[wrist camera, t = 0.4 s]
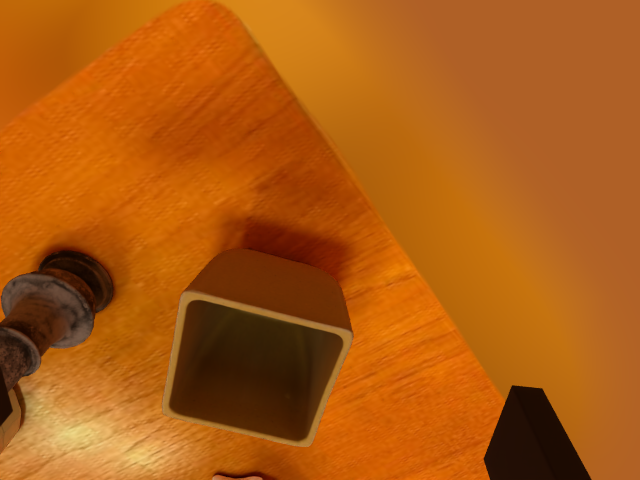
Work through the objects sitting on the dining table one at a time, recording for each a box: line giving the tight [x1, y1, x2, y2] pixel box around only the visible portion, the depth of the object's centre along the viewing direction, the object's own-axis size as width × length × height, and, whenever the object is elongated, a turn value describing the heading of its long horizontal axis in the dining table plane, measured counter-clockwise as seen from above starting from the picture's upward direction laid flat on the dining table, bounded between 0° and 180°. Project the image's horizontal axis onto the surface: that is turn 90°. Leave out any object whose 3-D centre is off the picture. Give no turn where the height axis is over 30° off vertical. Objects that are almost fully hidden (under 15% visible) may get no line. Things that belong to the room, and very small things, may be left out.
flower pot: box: [162, 249, 353, 447], centre depth 28 cm, size 9×9×9 cm
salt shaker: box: [0, 251, 113, 392], centre depth 27 cm, size 6×6×12 cm
